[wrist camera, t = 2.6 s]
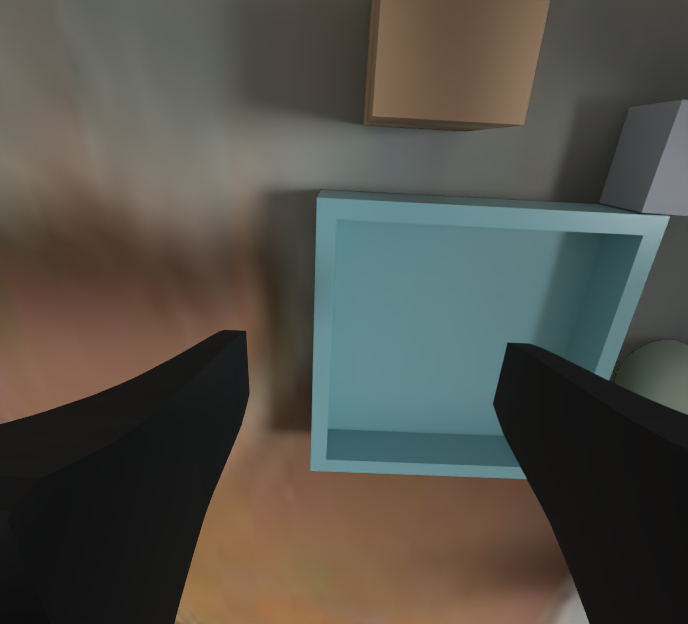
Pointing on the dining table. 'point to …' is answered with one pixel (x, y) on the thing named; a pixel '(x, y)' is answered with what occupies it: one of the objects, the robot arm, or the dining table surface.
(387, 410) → the tray
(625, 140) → the slate block
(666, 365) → the sage cylinder
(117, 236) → the dining table surface
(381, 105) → the walnut block
